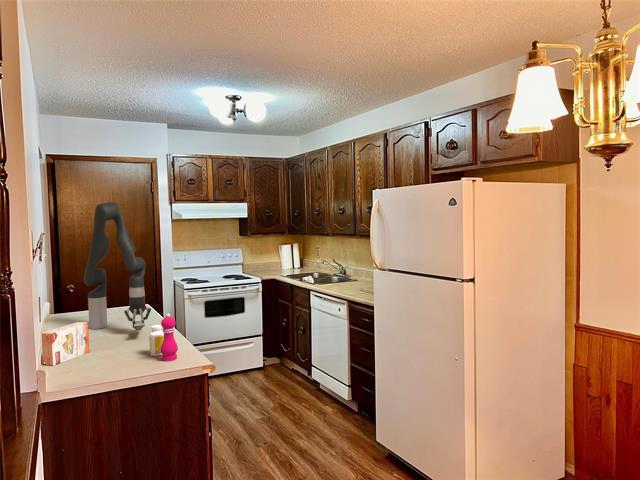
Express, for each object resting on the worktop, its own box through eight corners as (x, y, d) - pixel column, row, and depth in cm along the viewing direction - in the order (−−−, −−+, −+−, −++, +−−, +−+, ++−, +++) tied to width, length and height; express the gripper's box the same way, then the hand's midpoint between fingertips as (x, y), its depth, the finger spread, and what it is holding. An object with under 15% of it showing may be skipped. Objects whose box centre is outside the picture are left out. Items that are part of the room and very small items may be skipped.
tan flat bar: (133, 330, 250) (133, 325, 251) (143, 329, 252) (143, 324, 253) (134, 325, 234) (133, 319, 235) (144, 324, 236) (144, 318, 237)
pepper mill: (163, 356, 209) (161, 312, 208) (179, 356, 210) (178, 311, 209) (158, 362, 202) (157, 315, 201) (176, 361, 203) (174, 315, 202)
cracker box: (90, 351, 219) (53, 366, 199) (80, 350, 221) (41, 365, 201) (89, 322, 218) (51, 333, 198) (78, 321, 220) (40, 332, 200)
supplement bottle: (168, 352, 216) (167, 324, 215) (159, 357, 209) (158, 328, 209) (156, 351, 218) (155, 323, 217) (146, 355, 212) (145, 327, 211)
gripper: (150, 293, 255) (152, 325, 256) (122, 295, 249) (123, 328, 250) (151, 295, 248) (153, 328, 249) (122, 297, 242) (124, 331, 243)
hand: (138, 327), depth 249 cm, fingers closed on tan flat bar, 3 cm apart
